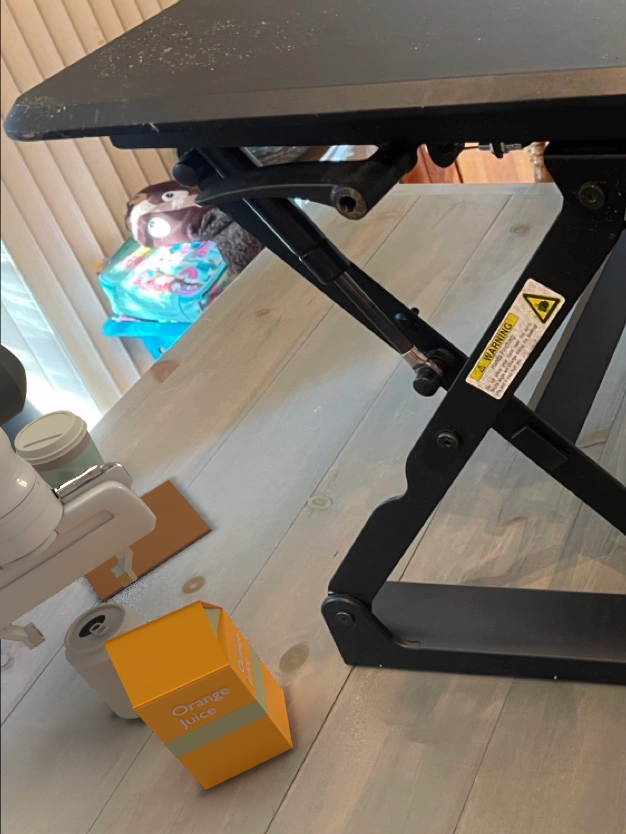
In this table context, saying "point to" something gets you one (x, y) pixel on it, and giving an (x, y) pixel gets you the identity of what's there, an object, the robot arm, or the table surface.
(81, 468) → the coffee cup
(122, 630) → the can
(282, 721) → the orange juice
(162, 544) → the mat
